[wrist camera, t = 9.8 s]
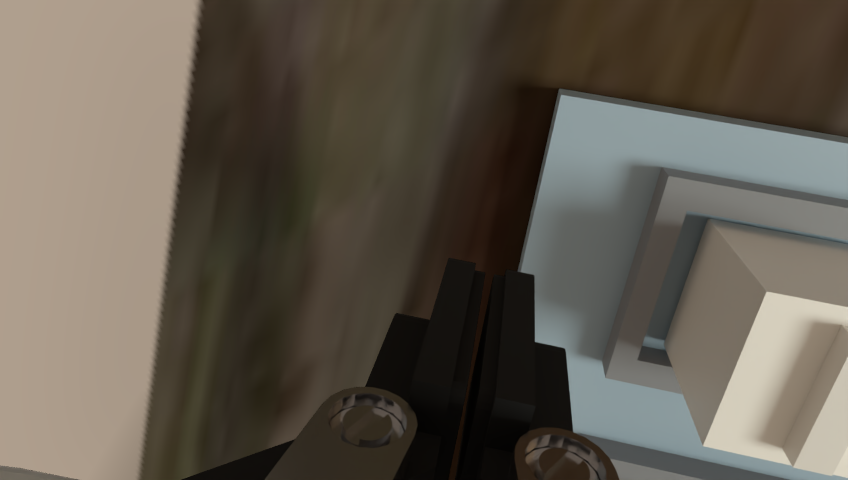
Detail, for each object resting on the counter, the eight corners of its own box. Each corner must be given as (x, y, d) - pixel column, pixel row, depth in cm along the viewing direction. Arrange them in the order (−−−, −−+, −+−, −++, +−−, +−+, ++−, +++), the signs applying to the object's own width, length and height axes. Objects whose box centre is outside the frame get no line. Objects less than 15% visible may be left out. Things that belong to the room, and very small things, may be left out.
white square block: (804, 373, 17) (903, 507, 13) (663, 344, 18) (710, 464, 13) (864, 247, 16) (999, 349, 11) (707, 218, 16) (777, 305, 12)
